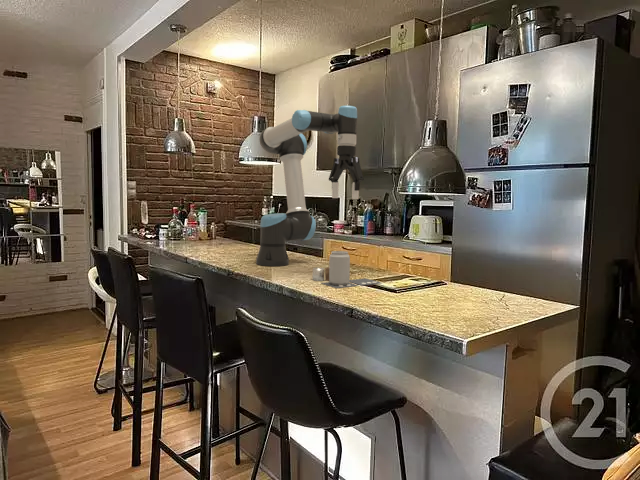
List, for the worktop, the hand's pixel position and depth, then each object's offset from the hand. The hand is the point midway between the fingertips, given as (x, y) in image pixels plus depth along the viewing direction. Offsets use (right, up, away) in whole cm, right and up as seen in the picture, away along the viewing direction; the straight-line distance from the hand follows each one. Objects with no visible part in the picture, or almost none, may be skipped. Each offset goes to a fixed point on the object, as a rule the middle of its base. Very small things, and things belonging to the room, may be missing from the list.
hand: (344, 198), depth 192 cm
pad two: (-3, -34, -19) cm, 39 cm away
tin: (-11, -33, -11) cm, 36 cm away
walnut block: (-5, -33, -10) cm, 34 cm away
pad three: (+7, -33, -12) cm, 36 cm away
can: (-3, -33, -19) cm, 38 cm away
